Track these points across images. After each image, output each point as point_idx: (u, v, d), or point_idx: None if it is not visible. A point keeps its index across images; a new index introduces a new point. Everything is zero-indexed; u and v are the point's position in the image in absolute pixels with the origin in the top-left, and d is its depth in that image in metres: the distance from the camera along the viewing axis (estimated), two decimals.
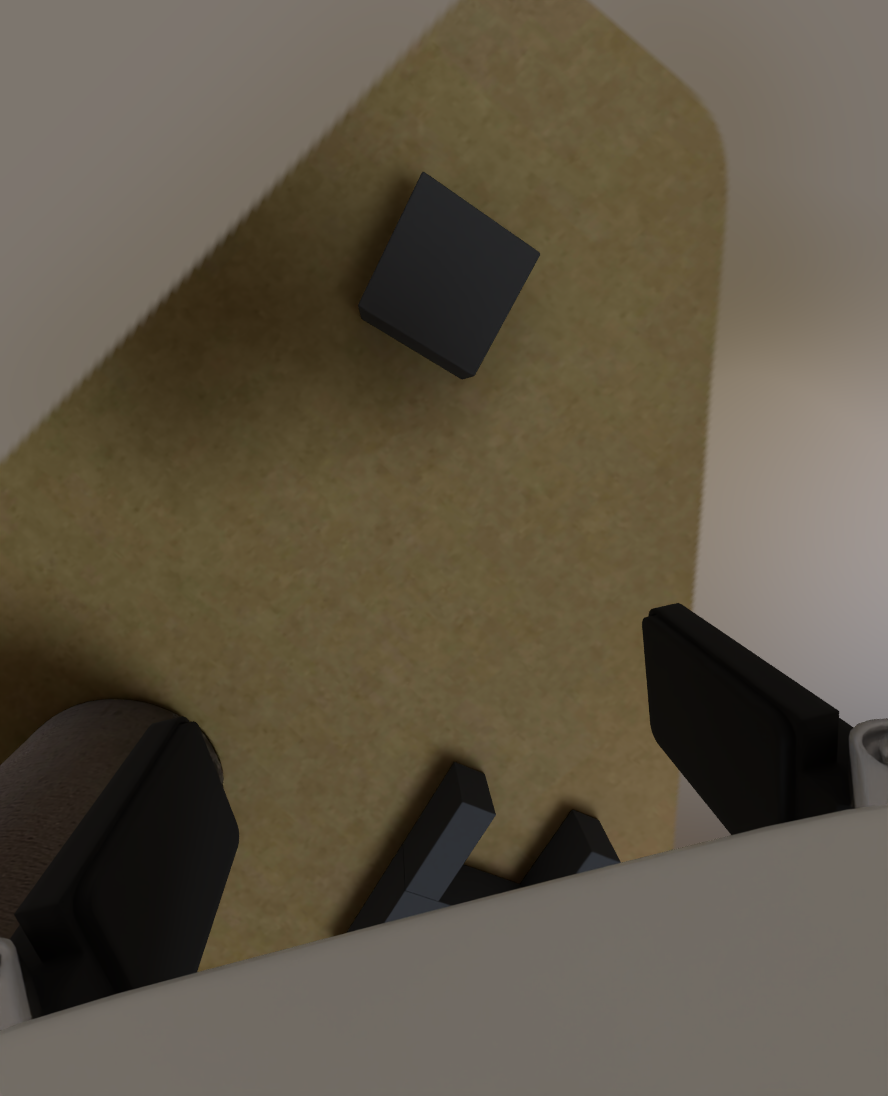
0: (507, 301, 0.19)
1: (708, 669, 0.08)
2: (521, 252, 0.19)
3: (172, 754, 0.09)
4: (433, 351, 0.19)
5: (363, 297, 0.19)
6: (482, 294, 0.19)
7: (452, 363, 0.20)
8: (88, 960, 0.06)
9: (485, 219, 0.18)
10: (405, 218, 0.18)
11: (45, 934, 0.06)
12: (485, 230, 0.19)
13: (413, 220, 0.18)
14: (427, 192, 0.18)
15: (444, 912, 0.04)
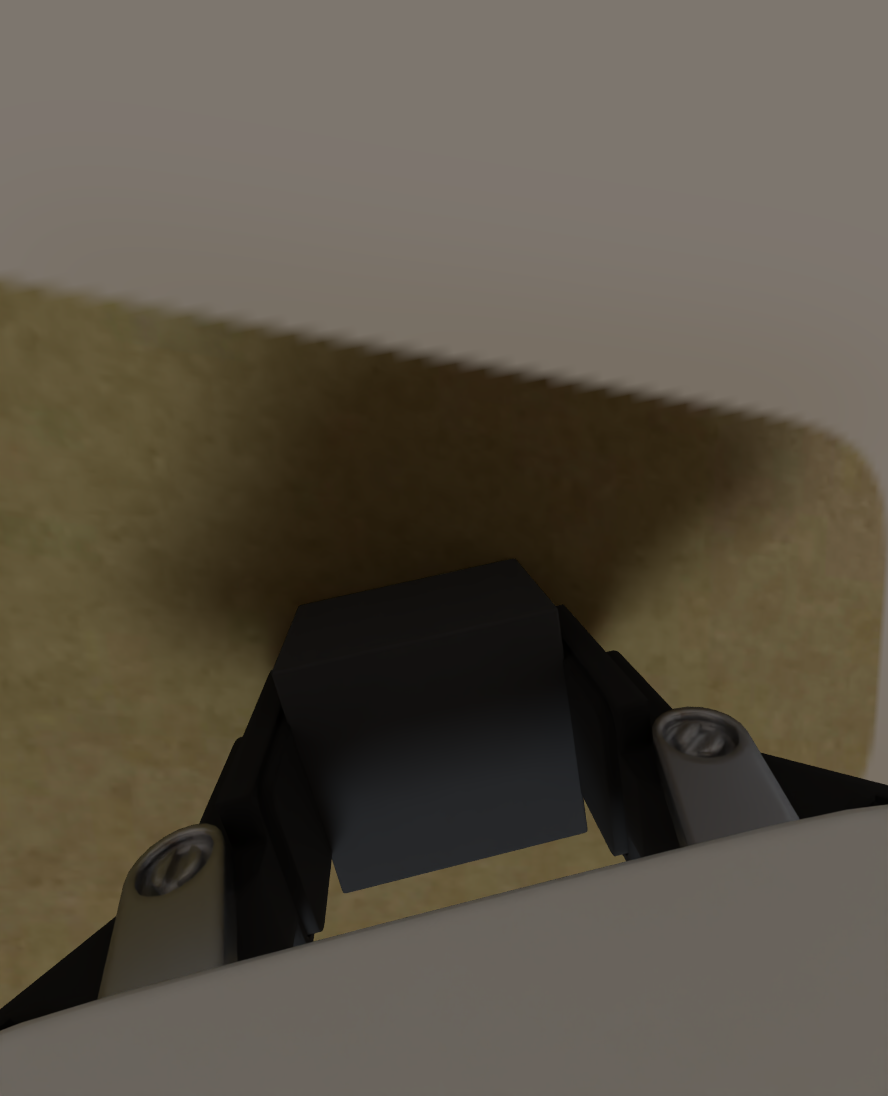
0: (487, 848, 0.10)
1: (564, 664, 0.09)
2: (567, 811, 0.10)
3: None
4: None
5: (292, 671, 0.09)
6: (466, 814, 0.10)
7: None
8: (269, 847, 0.07)
9: (568, 738, 0.10)
10: (468, 638, 0.09)
11: (237, 822, 0.07)
12: (553, 749, 0.10)
13: (476, 650, 0.09)
14: (533, 637, 0.09)
15: (444, 912, 0.04)
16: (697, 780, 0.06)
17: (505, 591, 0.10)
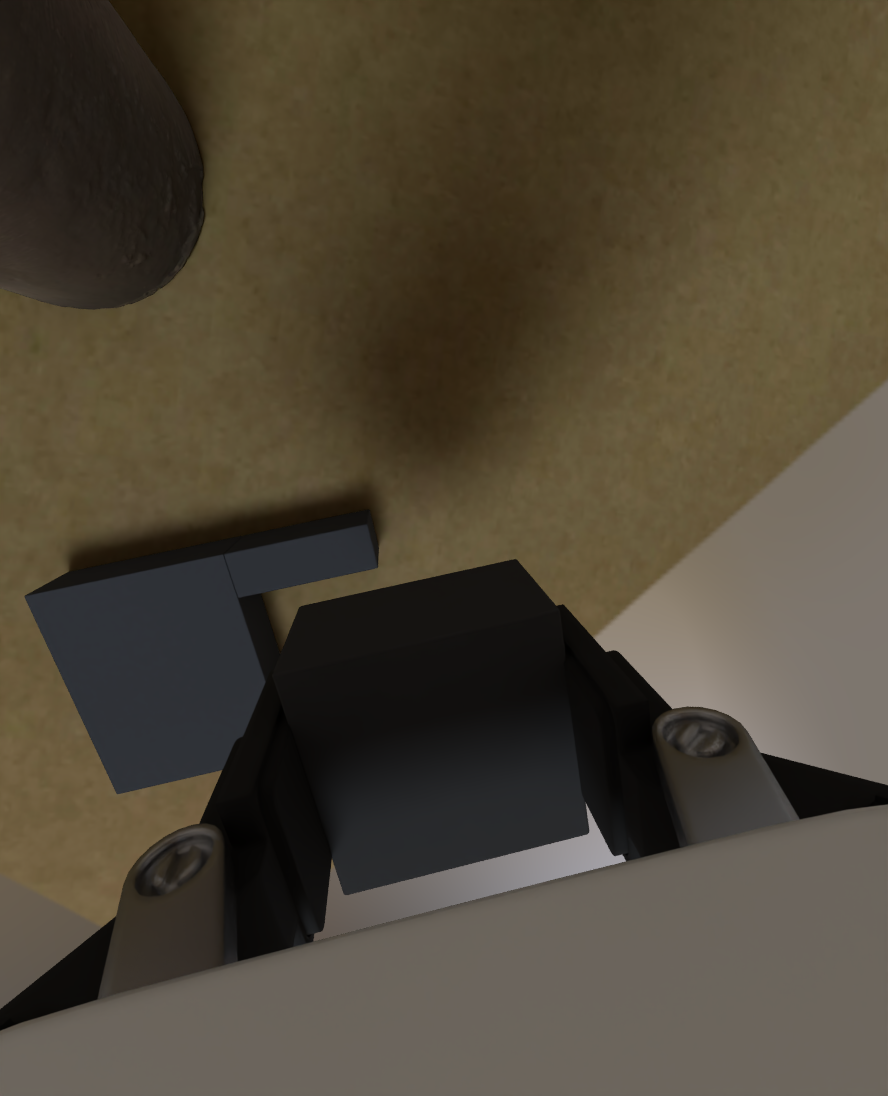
0: (489, 850, 0.10)
1: (564, 664, 0.09)
2: (569, 813, 0.10)
3: None
4: (321, 822, 0.09)
5: (292, 672, 0.09)
6: (467, 815, 0.10)
7: (332, 855, 0.10)
8: (269, 847, 0.07)
9: (569, 739, 0.10)
10: (470, 639, 0.09)
11: (237, 822, 0.07)
12: (555, 750, 0.10)
13: (478, 652, 0.09)
14: (535, 639, 0.09)
15: (444, 912, 0.04)
16: (697, 780, 0.06)
17: (507, 592, 0.10)
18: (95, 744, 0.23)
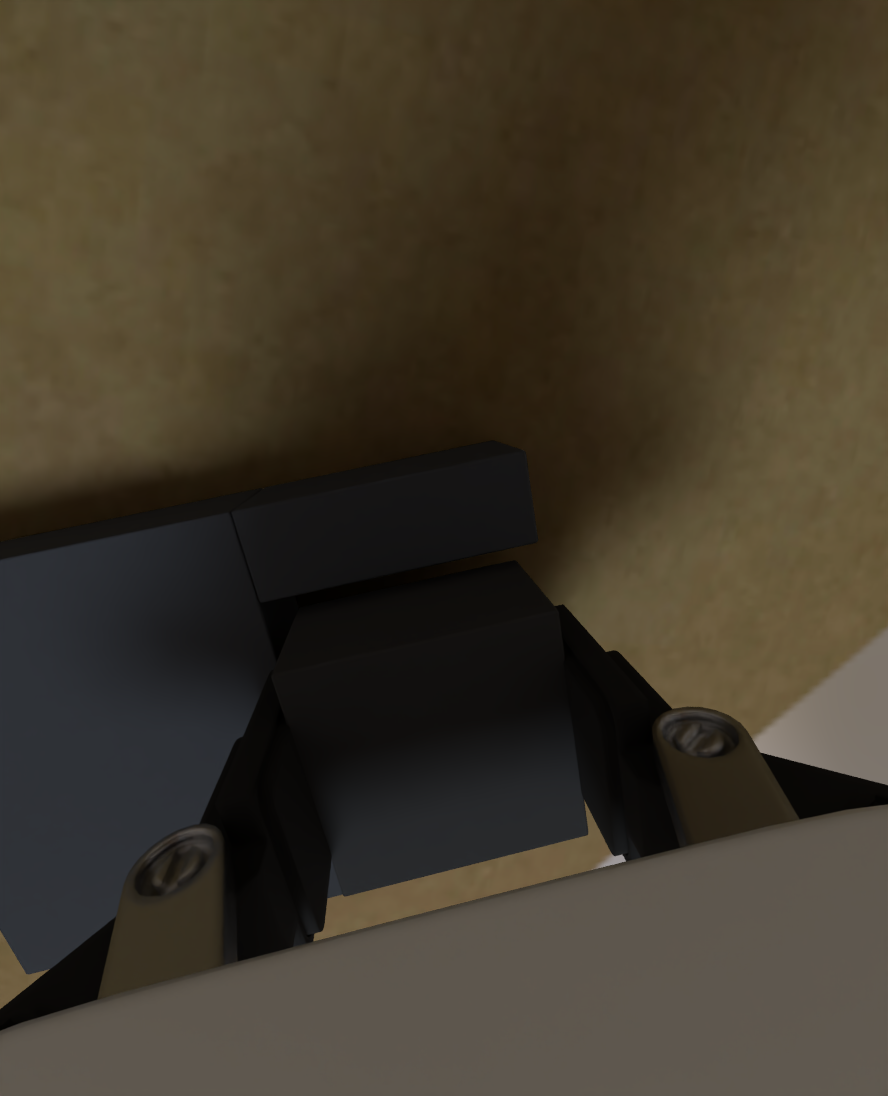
0: (488, 851, 0.10)
1: (564, 664, 0.09)
2: (568, 814, 0.10)
3: None
4: None
5: (291, 674, 0.09)
6: (466, 816, 0.10)
7: None
8: (269, 847, 0.07)
9: (568, 740, 0.10)
10: (469, 640, 0.09)
11: (237, 822, 0.07)
12: (554, 751, 0.10)
13: (477, 653, 0.09)
14: (533, 640, 0.09)
15: (444, 912, 0.04)
16: (697, 780, 0.06)
17: (506, 593, 0.10)
18: None
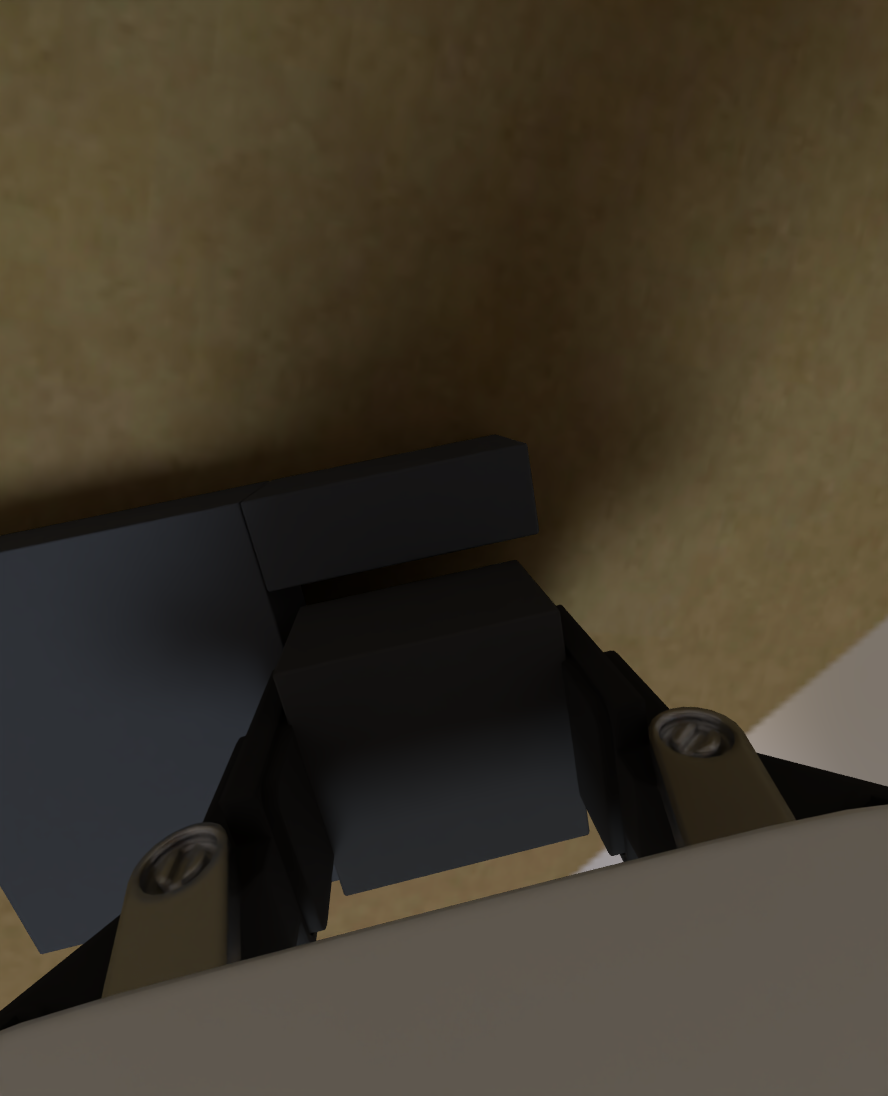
0: (489, 850, 0.10)
1: None
2: (569, 814, 0.10)
3: None
4: None
5: (293, 673, 0.09)
6: (468, 815, 0.10)
7: None
8: (272, 845, 0.07)
9: (569, 740, 0.10)
10: (470, 640, 0.09)
11: (241, 821, 0.07)
12: (555, 751, 0.10)
13: (478, 652, 0.09)
14: (535, 640, 0.09)
15: (444, 912, 0.04)
16: (694, 780, 0.06)
17: (507, 593, 0.10)
18: None
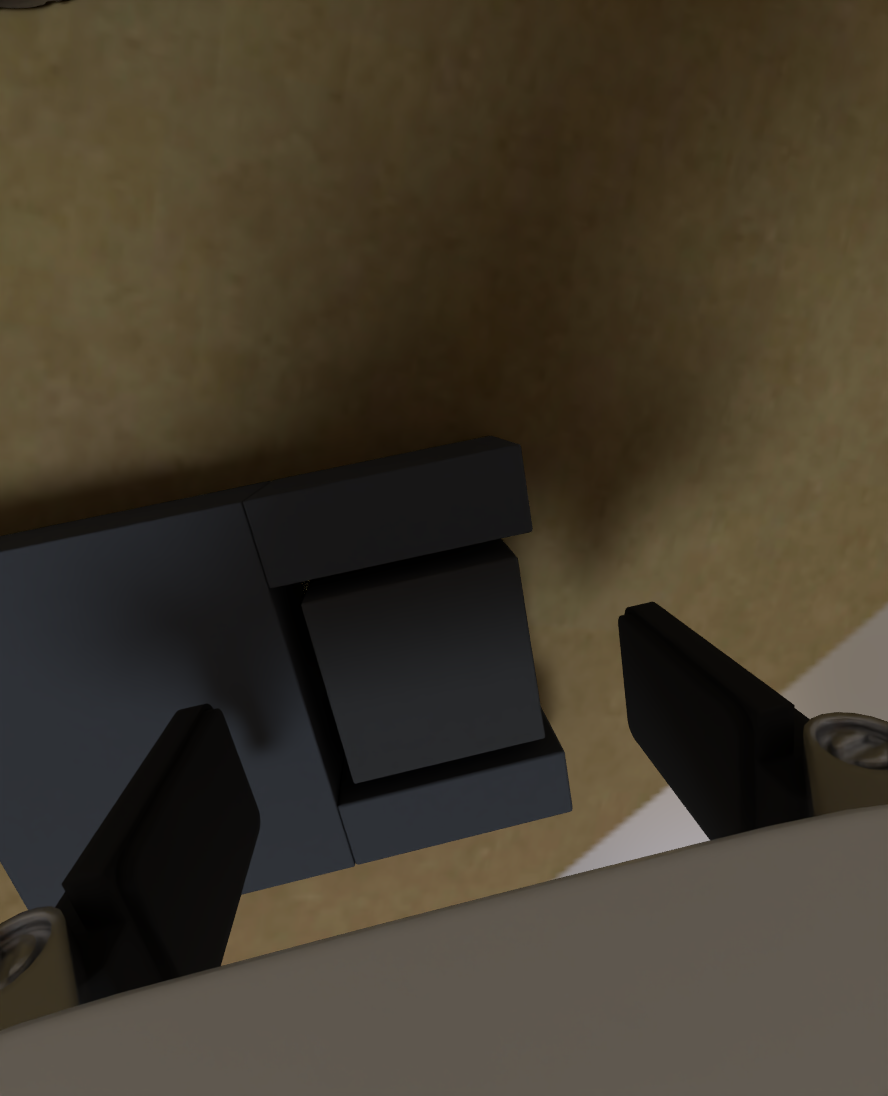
0: (466, 749, 0.13)
1: (676, 665, 0.08)
2: (528, 720, 0.13)
3: (200, 738, 0.09)
4: (336, 723, 0.12)
5: (316, 603, 0.11)
6: (449, 720, 0.13)
7: (345, 751, 0.13)
8: (130, 929, 0.07)
9: (527, 660, 0.12)
10: (450, 579, 0.12)
11: (90, 904, 0.06)
12: (516, 669, 0.12)
13: (456, 589, 0.12)
14: (498, 579, 0.12)
15: (444, 912, 0.04)
16: (847, 787, 0.06)
17: (480, 548, 0.13)
18: (2, 860, 0.12)
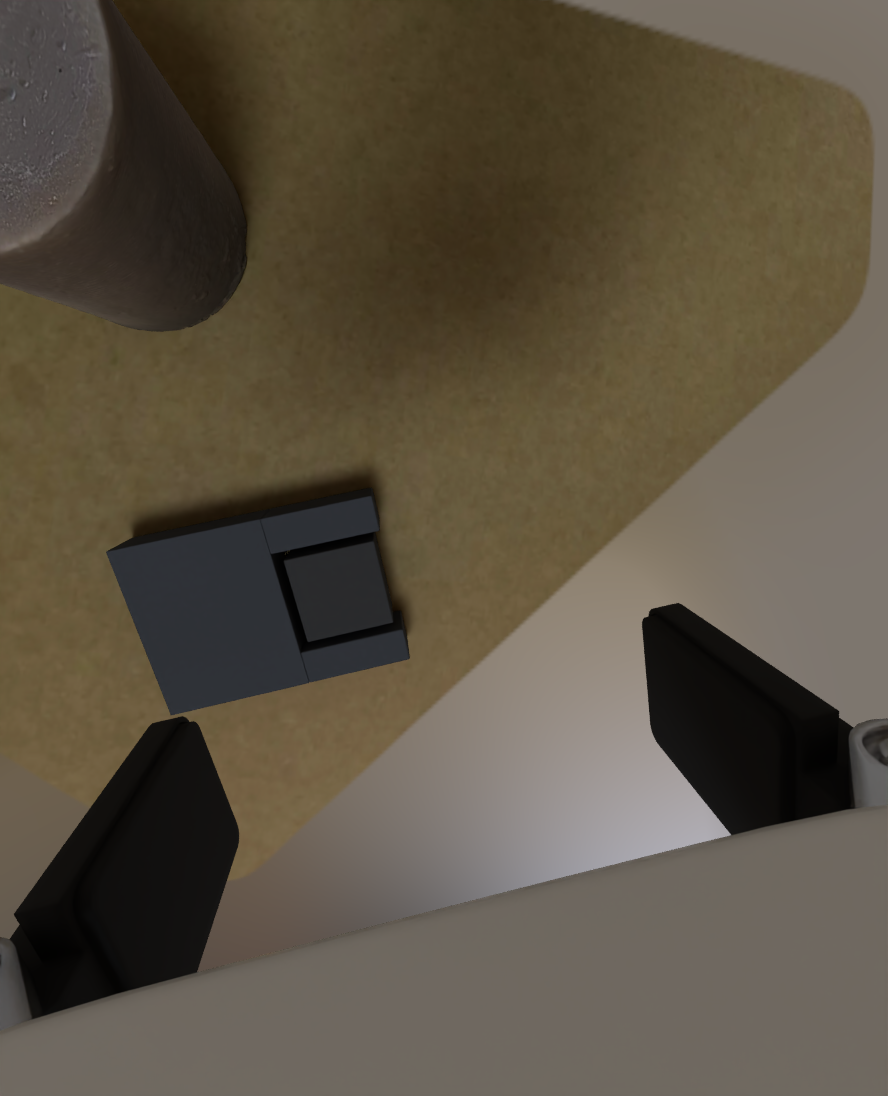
0: (357, 627, 0.29)
1: (708, 669, 0.08)
2: (384, 614, 0.29)
3: (172, 754, 0.09)
4: (299, 613, 0.29)
5: (290, 560, 0.28)
6: (348, 613, 0.29)
7: (303, 626, 0.29)
8: (88, 960, 0.06)
9: (381, 586, 0.29)
10: (345, 550, 0.28)
11: (45, 934, 0.06)
12: (377, 590, 0.29)
13: (348, 554, 0.28)
14: (366, 550, 0.28)
15: (444, 912, 0.04)
16: None
17: (362, 538, 0.29)
18: (155, 673, 0.29)
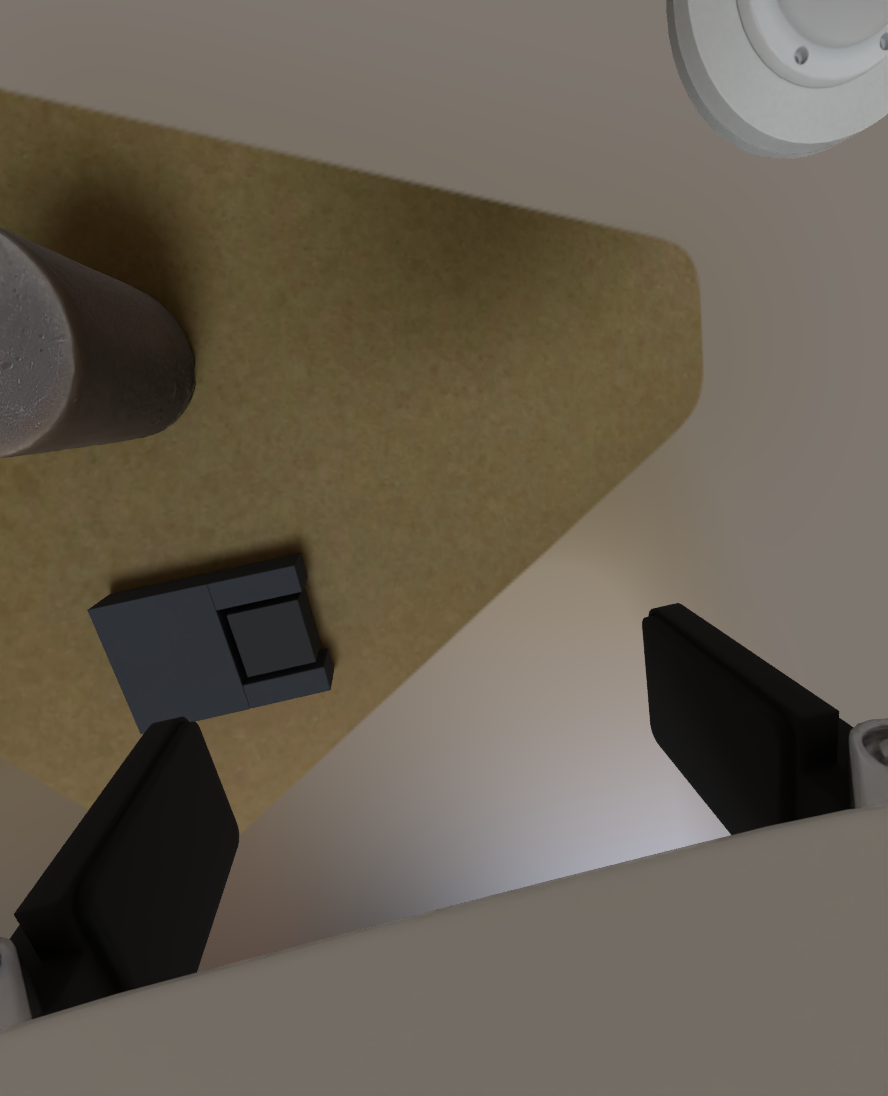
0: (287, 665, 0.37)
1: (708, 669, 0.08)
2: (308, 655, 0.37)
3: (172, 754, 0.09)
4: (240, 655, 0.36)
5: (231, 615, 0.36)
6: (280, 654, 0.37)
7: (244, 665, 0.37)
8: (88, 960, 0.06)
9: (305, 634, 0.37)
10: (275, 607, 0.36)
11: (45, 934, 0.06)
12: (302, 637, 0.37)
13: (277, 610, 0.36)
14: (291, 607, 0.36)
15: (444, 912, 0.04)
16: None
17: (291, 595, 0.37)
18: (128, 701, 0.36)
